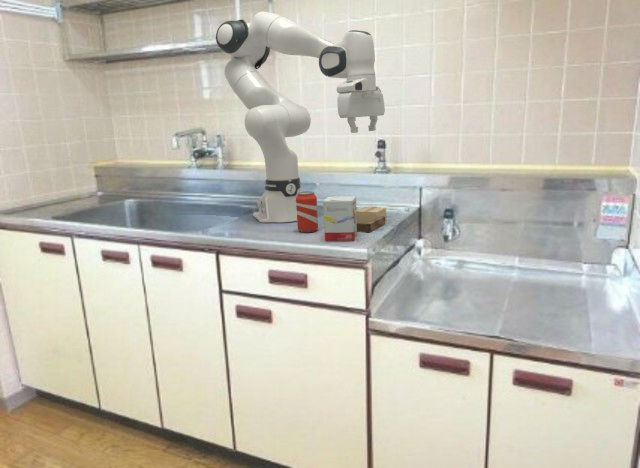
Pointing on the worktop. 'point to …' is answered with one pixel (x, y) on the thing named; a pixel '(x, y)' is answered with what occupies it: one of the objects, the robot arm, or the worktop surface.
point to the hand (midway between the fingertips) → (363, 131)
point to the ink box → (340, 218)
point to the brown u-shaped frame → (371, 225)
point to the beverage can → (307, 211)
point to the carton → (370, 214)
